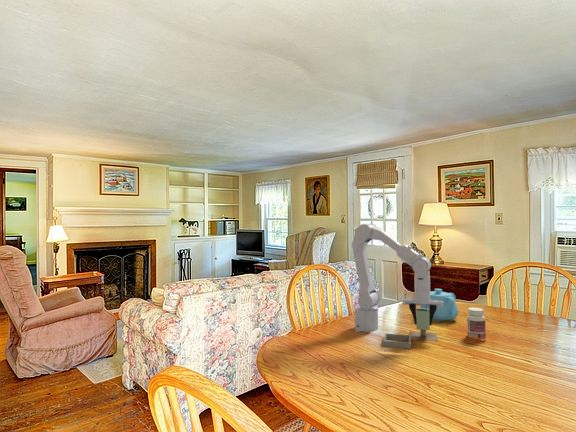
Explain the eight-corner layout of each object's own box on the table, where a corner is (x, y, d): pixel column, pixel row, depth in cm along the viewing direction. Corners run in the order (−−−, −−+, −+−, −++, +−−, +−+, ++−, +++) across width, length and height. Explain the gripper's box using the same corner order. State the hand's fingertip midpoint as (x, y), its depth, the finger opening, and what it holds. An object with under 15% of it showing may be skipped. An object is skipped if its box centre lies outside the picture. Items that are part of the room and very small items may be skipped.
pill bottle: (489, 341, 136) (488, 310, 136) (474, 342, 135) (473, 311, 135) (478, 335, 142) (478, 306, 142) (464, 336, 141) (463, 307, 141)
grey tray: (383, 348, 130) (382, 341, 130) (385, 339, 139) (385, 333, 139) (410, 350, 127) (410, 343, 127) (411, 342, 136) (411, 335, 136)
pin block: (409, 341, 137) (409, 329, 137) (409, 333, 146) (409, 322, 146) (438, 343, 133) (437, 332, 133) (436, 335, 143) (436, 324, 143)
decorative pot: (415, 320, 165) (414, 290, 165) (424, 312, 178) (424, 284, 178) (454, 325, 155) (453, 294, 156) (461, 317, 169) (460, 287, 169)
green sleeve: (416, 329, 139) (416, 310, 139) (416, 325, 143) (416, 307, 143) (429, 330, 137) (429, 311, 137) (429, 326, 141) (428, 308, 141)
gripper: (442, 287, 141) (442, 322, 141) (403, 286, 146) (403, 320, 146) (443, 291, 135) (444, 328, 135) (402, 289, 140) (402, 324, 139)
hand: (423, 324), depth 140 cm, fingers closed on green sleeve, 5 cm apart
